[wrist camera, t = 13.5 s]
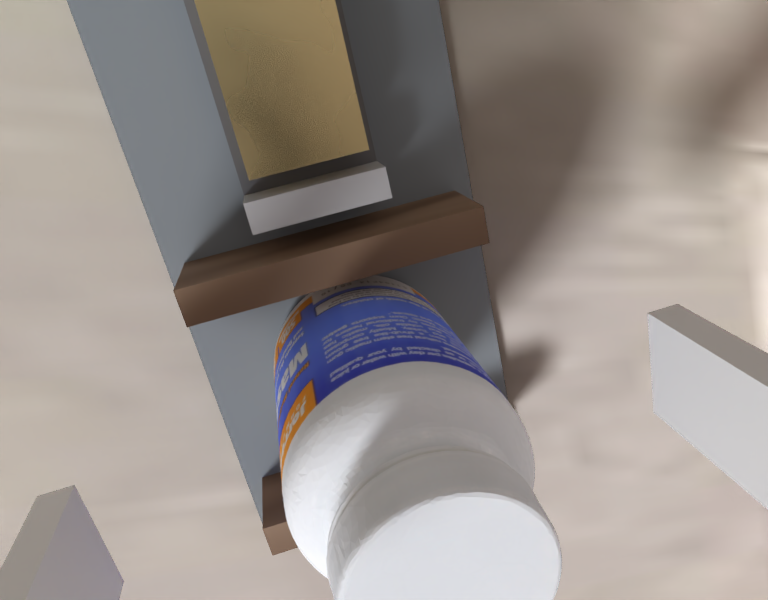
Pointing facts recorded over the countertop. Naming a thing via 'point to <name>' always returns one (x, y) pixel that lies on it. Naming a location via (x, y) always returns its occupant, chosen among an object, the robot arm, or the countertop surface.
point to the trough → (324, 278)
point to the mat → (225, 195)
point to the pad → (284, 81)
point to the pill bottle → (404, 455)
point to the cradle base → (305, 184)
